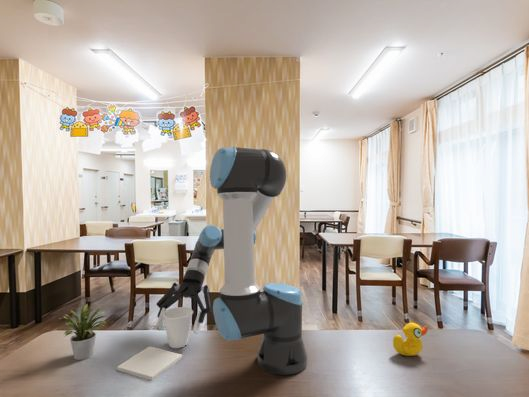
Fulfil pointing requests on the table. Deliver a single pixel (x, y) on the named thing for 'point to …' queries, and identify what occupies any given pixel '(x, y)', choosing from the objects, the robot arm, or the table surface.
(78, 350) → the house plant
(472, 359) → the table surface
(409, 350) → the duckling
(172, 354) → the placemat
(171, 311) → the cup
